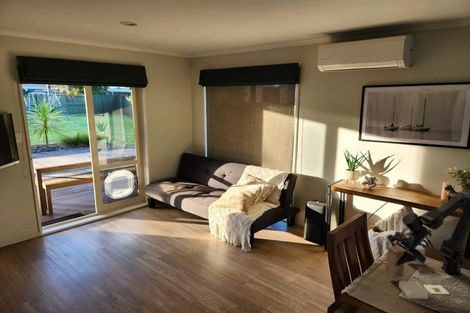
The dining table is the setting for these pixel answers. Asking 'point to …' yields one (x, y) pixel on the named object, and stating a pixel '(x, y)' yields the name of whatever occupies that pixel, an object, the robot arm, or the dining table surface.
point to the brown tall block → (394, 261)
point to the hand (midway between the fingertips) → (392, 261)
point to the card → (435, 289)
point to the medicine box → (421, 252)
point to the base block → (413, 289)
